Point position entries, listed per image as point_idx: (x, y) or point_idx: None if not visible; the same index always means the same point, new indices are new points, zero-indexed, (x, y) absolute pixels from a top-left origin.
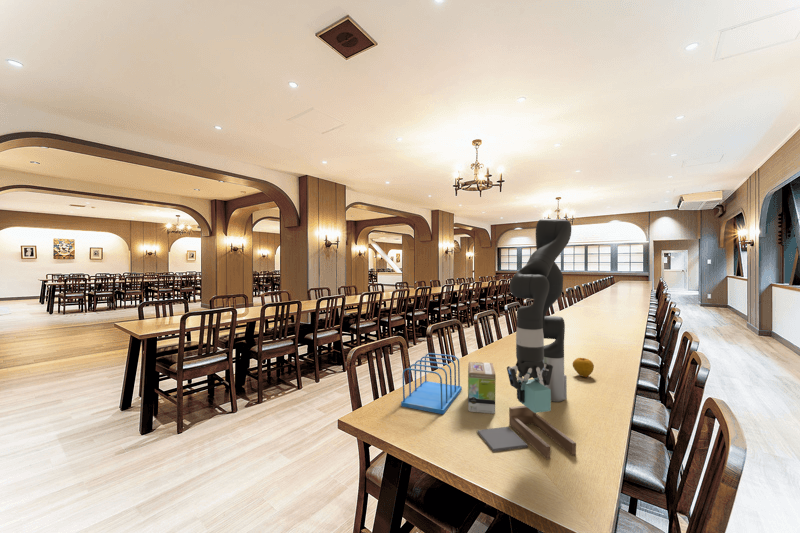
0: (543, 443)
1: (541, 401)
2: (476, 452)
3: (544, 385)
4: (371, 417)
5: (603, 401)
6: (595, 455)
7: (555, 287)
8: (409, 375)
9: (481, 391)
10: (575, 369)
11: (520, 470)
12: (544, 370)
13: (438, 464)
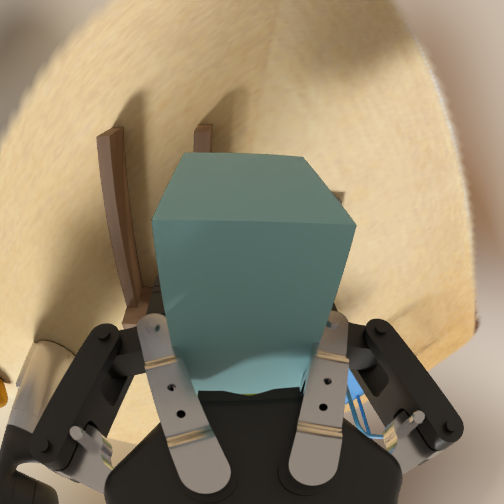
0: (206, 152)
1: (260, 176)
2: (378, 208)
3: (130, 330)
4: (443, 345)
5: None
6: (63, 121)
7: None
8: (369, 430)
9: (252, 394)
10: (5, 392)
11: (326, 102)
12: (103, 436)
13: (463, 195)
